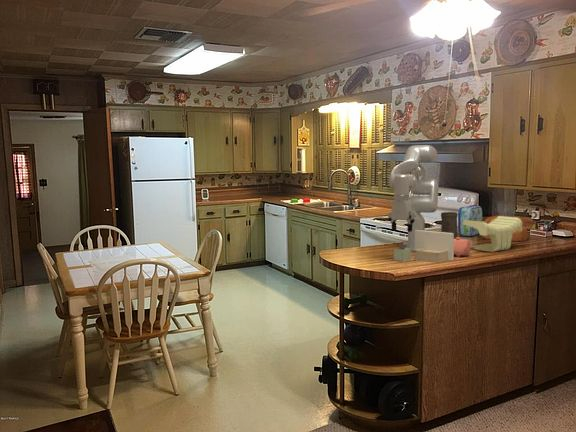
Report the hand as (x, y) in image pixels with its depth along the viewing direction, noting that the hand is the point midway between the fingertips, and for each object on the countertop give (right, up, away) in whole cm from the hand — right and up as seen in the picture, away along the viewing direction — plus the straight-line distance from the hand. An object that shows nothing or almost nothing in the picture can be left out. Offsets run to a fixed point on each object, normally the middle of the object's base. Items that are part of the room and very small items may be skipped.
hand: (401, 230), depth 253 cm
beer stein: (+43, -9, +53) cm, 69 cm away
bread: (+81, -8, +61) cm, 102 cm away
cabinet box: (+1, -16, +2) cm, 16 cm away
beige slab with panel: (+15, -15, +3) cm, 21 cm away
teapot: (+33, -14, +9) cm, 37 cm away
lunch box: (+68, -6, +84) cm, 108 cm away
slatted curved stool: (+58, -12, +25) cm, 64 cm away
